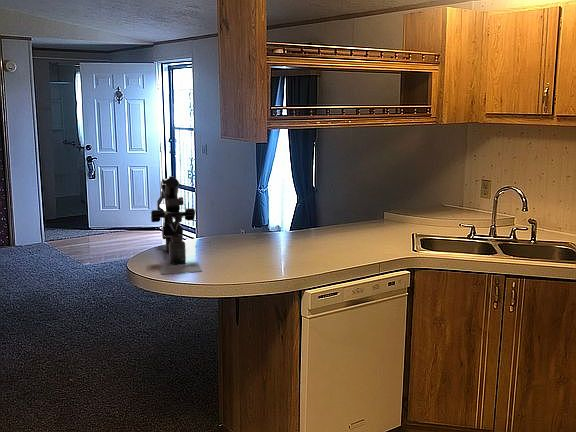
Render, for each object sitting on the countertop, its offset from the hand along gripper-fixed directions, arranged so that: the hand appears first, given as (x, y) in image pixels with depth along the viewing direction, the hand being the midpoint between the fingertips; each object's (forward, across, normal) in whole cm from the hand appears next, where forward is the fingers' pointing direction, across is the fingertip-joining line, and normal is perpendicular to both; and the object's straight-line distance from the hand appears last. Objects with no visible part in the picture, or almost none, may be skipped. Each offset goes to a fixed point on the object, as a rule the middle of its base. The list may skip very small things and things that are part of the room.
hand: (174, 231), depth 271 cm
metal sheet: (+22, 0, -5) cm, 23 cm away
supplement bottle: (+14, 0, +3) cm, 15 cm away
